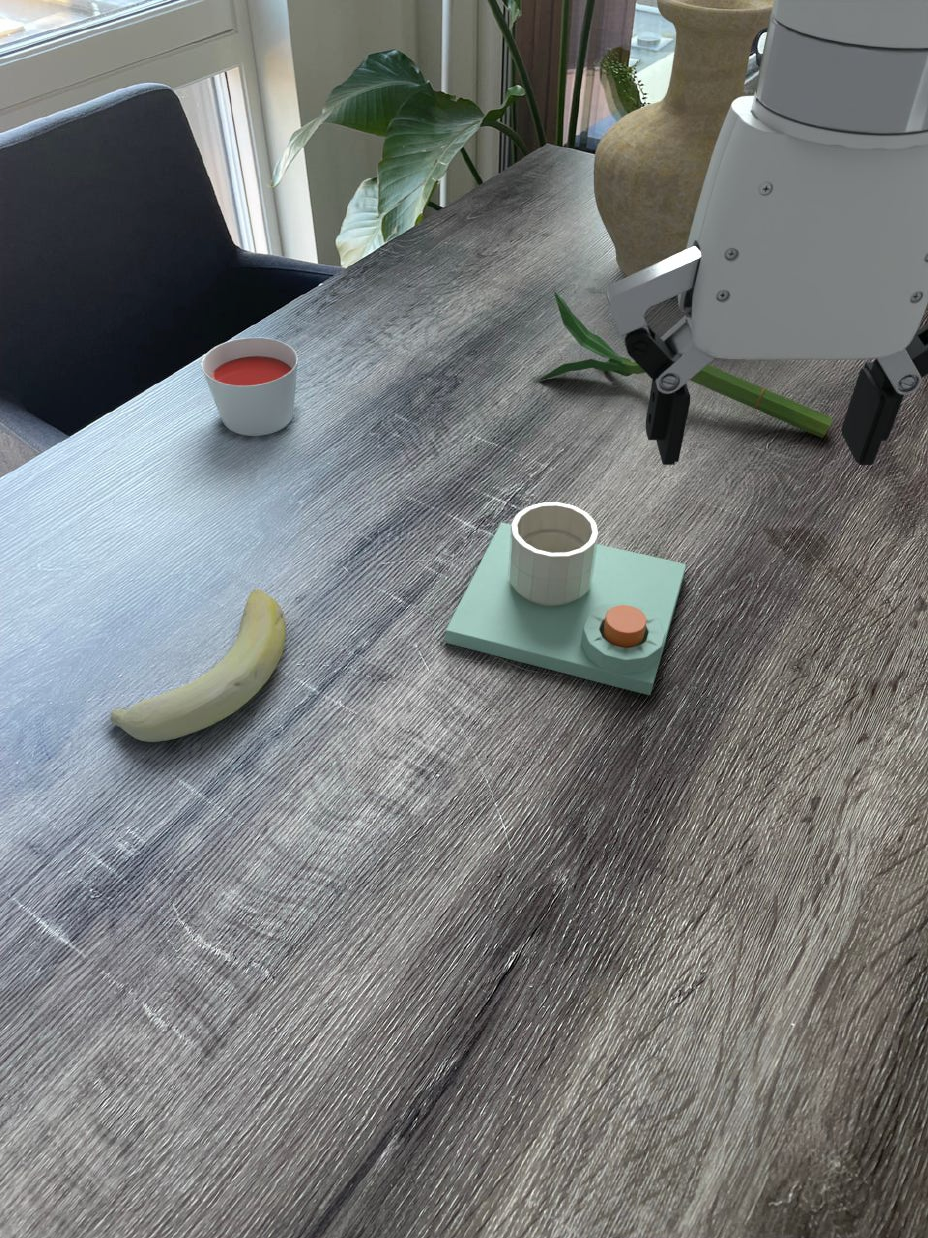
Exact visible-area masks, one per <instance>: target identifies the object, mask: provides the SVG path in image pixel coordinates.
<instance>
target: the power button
mask: <svg viewBox="0 0 928 1238" xmlns="http://www.w3.org/2000/svg"><path fill="white" fill-rule="evenodd" d="M646 623H647V620H646V617H645V615H644V614H643V613H642V612H641V611H640V610H639V609H637V608H635V607H632V606H627V605H620V606H615V607H613V608H611V609H610V610H609V611H608V612H607V614H606V617H605V624H604V630H603V632H604V636H605V638H606V639H607V640H608V641H609V642H610V643H611V644H613V645H615V646H619V647H623V648H630V647H634V646H636V645H638V644H640V643H641V642H642V640H643V638H644V633H645V628H646Z"/></svg>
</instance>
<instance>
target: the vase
mask: <svg viewBox="0 0 928 1238" xmlns="http://www.w3.org/2000/svg"><path fill="white" fill-rule="evenodd" d="M773 3H774V0H656V4H657V9H658V12H659V14H660V16H662V17H663V18H664V19H665V20H666V21H667V22H669V23H671V24H672V26H673V27H674V29H675V45H674V51H673V59H672V64H671V65H672V66H671V70H670V71H671V72H670V77H669V82H668V87H667V91H666V94H665V95H664V97H663V98H662V99H661V100H660V101H657V102H654V103H650V104H647V105H644V106H642V107H639V108H637V109H635V110H633V111H631V112H630V113H627V114H625V115H624V116H623V117H621V118H620V119H619V120H618V121H615V123H613V124H612V125H611V126H610V127H608V129H607V130H606V131H605V132H604V134H603V135H602V137H601V139H600V141H599V142H598V143H597V146H596V149H595V153H594V160H593V193H594V197H595V198H594V199H595V204H596V208H597V211H598V214H599V217H600V218H601V221H602V223H603V226H604V228H605V229H606V232H607V234H608V236H609V239H610V240H611V241H612V244H613V247H614V249H615V262H616V264H617V266H618V268H619V269H620V271H622V272H623V274H624V275H625V276H626V277H628V276H630V275H632V274H634V273H636V272H639V271H641V270H643V269H645V268H647V267H650V266H652V265H654V264H656V263H658V262H660V261H663V260H665V259H667V258H669V257H671V256H674V255H676V254H678V253H680V252H682V251H684V250H686V248H687V244H688V240H689V236H690V232H691V228H692V224H693V220H694V216H695V212H696V208H697V205H698V201H699V198H700V194H701V191H702V187H703V184H704V180H705V177H706V174H707V170H708V167H709V164H710V160H711V157H712V154H713V151H714V148H715V145H716V142H717V140H718V137H719V134H720V131H721V129H722V126H723V124H724V121H725V118H726V116H727V114H728V111H729V109H730V106H731V104H732V102H733V101H734V100H735V99H737V98H739V97H743V96H744V91H745V83H746V77H747V71H748V66H749V61H750V56H751V50H752V46H753V44H754V40H755V38H756V36H757V35H758V34H759V32H761V31H762V30H766V29H768V24H769V19H770V15H771V13H772V8H773Z"/></svg>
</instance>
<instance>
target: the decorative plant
mask: <svg viewBox="0 0 928 1238" xmlns="http://www.w3.org/2000/svg"><path fill="white" fill-rule="evenodd" d="M553 293H554V297H555V301H556V304H557V308H558V311H559V315H560V318H561V321H562V324H563V326H564V327H565V328H566V329H567V330H568V332H569V333H570V334H571V336H572V337H573V338H574V339H575V340H576V341H577V343H578V344H579V345H580V346H581V347H583V348H585V349H587V350H588V351H590V352H592V353H595V354H596V355H598V356H600V357H603V358H606V359H608V360H607V361H606V362H605V361H601V360H597V359H593V358H588V359H584V360H580V361H574V362H568V363H563V364H561V365H559V366H557V367H556V368H555V369H553V370H551V371H550V372H548V373H546V374H545V375H543V376H542V377H540V378H539V379H538V380H537V381H538V382H540V381H543V380H548V379H551V378H554V377H557V376H561V375H564V374H567V373H569V372H577V371H578V372H579V371H582V370H587V369H596V370H598V371H601V372H611V373H615V374H618V375H620V376H622V377H628V378H629V377H630V376H632V375H641V374H644V373H646V372H645V371H644V370H643V369H642V368H641V367H640V366H639V365H638V364H637V363H636V362H635V361H632V360H631V359H630V358H626V357H624V356H620V355H618V354H617V353H616V351H614V349H612V348H611V346H610V345H609V344H608V343H607V342H606V341H605V340H603V338H602V337H601V336H599V335H597V334H595V333H593V332H591V331H590V330H589V329H588V328H587V327H586V326H585V324H583V322H582V321H581V320H580V319H579V318H578V317H577V316H576V315H575V314H574V313H573V312H572V310H571V309H570V308H569V306H568V305H567V303H566V301H564V299H563V298H562V297H561V296H560V295H559V294H558V293H557V292H556V291H554V292H553ZM689 381H690V382H692V383H694V384H696V385H700V386H702V387H704V388H706V389H708V390H711V391H713V392H716V393H718V394H719V395H722V396H725V397H727V398H729V399H732V400H734V401H735V402H738V403H741V404H742V405H745V406H747V407H749V408H752V409H754V410H756V411H759V412H761V413H764V414H765V415H768V416H770V417H773V418H775V419H777V420H780V421H782V422H784V423H786V424H789V425H791V426H793V427H795V428H798V429H800V430H802V431H804V432H807V433H809V434H812V435H813V436H816V437H818V438H820V439H823V438H824V437H825V436H826V434H827V432H828V430H829V429H830V427H831V425H832V422H833V420H834V418H833V417H831V416H829V415H827V414H825V413H822V412H819V411H817V410H815V409H813V408H810V407H808V406H806V405H803V404H801V403H799V402H796V401H794V400H793V399H789V398H787V397H785V396H783V395H780V394H778V393H775V392H773V391H771V390H768V389H767V387H765V386H764V387H761V386H760V385H757V384H755V383H753V382H750V381H748V380H745V379H743V378H741V377H739V376H737V375H734V374H731V373H729V372H727V371H725V370H722V369H720V368H717V367H715V366H713V365H711V364H710V363H709V364H707V365H706V366H705V367H704V368H703V369H702V370H701V371H699V372H698V373H697V374H696V375H695V376H694V377H693V378H691V379H690V380H689Z"/></svg>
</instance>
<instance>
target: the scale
mask: <svg viewBox="0 0 928 1238" xmlns="http://www.w3.org/2000/svg"><path fill="white" fill-rule="evenodd" d="M511 524H512V523H507V522H500V523H499V525H498V527H497V529H496V531H495V533H494V535H493V537H492V539H491V541H490V542H489V545H488V547H487V549H486V551H485V552H484V555H483V556H482V558H481V561H480V562H479V564H478V566H477V568H476V570H475V572H474V574H473V576H472V577H471V580H470V582H469V584H468V586H467V588H466V590H465V592H464V593H463V596H462V598H461V599H460V602H459V603H458V606H457V607H456V609H455V611H454V613H453V615H452V617H451V619H450V621H449V623H448V625H447V626H446V629H445V643H446V644H449V645H452V646H456V647H461V648H464V649H469V650H472V651H476V652H479V653H484V654H488V655H491V656H495V657H499V658H503V659H507V660H511V661H515V662H518V663H522V664H526V665H530V666H535V667H538V668H542V669H546V670H549V671H554V672H557V673H560V674H566V675H568V676H572V677H577V678H581V679H584V680H588V681H592V682H595V683H599V684H603V685H608V686H612V687H614V688H615V687H616V688H619V689H623V690H626V691H630V692H634V693H639V694H642V695H645V696H651V695H652V691H653V687H654V683H655V680H656V677H657V673H658V669H659V666H660V663H661V659H662V655H663V652H664V648H665V645H666V641H667V638H668V634H669V631H670V627H671V623H672V620H673V616H674V613H675V609H676V606H677V602H678V599H679V596H680V592H681V588H682V586H683V581H684V578H685V574H686V570H687V563H683V562H678V561H674V560H670V559H665V558H661V557H657V556H651V555H648V554H643V553H639V552H634V551H629V550H626V549H620V548H618V547H617V548H616V547H612V546H608V545H603V544H600V543H599V544H598V543H597V550H596V557H595V564H594V571H593V578H592V582H591V585H590V588H589V590H588V591H587V592H586V593H585V594H584V595H583V596H581V597H580V598H579V599H577V600H575V601H573V602H571V603H568V604H565V605H561V606H544V605H539V604H535V603H533V602H531V601H529V600H527V599H525V598H524V597H523V596H521V595H520V594H519V593H518V592H517V591H516V590H515V589H514V587H513V586H512V585H511V583H510V581H509V574H508V568H509V551H510V534H511ZM620 605H627V606H632V607H635V608H637V609H639V610H640V611H641V612H642V613H643V614H644V615H645V617H646V620H647V623H646V628H645V633H644V638H643V640H642V642H641V643H640V644H638V645H636V646H634V647H630V648H623V647H619V646H615V645H613V644H611V643H610V642H609V641H608V640H607V639H606V638H605V636H604V632H603V630H604V624H605V617H606V614H607V612H608V611H609V610H610V609H611V608H613V607H615V606H620Z"/></svg>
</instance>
